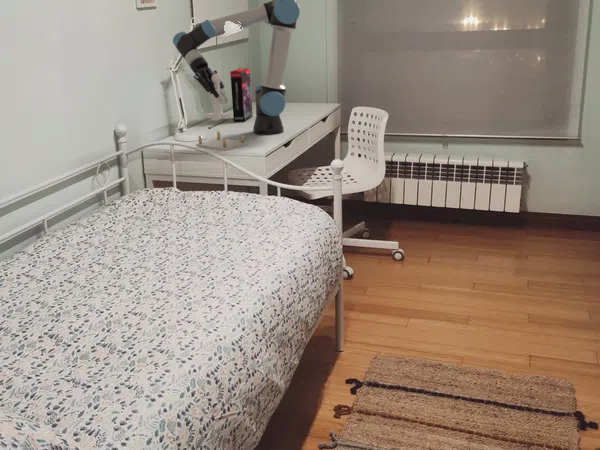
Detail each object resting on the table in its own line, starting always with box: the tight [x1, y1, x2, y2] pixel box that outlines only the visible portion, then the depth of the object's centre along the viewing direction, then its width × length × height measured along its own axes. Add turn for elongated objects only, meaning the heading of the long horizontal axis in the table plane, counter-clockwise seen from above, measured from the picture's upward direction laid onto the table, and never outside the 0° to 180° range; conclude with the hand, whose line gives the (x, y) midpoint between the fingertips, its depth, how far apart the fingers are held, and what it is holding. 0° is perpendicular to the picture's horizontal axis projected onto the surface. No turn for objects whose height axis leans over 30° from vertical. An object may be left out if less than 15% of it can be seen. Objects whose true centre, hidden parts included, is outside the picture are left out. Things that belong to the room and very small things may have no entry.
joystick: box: [205, 73, 232, 121], centre depth 308 cm, size 11×8×20 cm
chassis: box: [195, 131, 249, 152], centre depth 315 cm, size 16×17×5 cm
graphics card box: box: [230, 67, 253, 123], centre depth 379 cm, size 17×7×27 cm, turn 168°
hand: (225, 101), depth 307 cm, fingers closed on joystick, 2 cm apart
